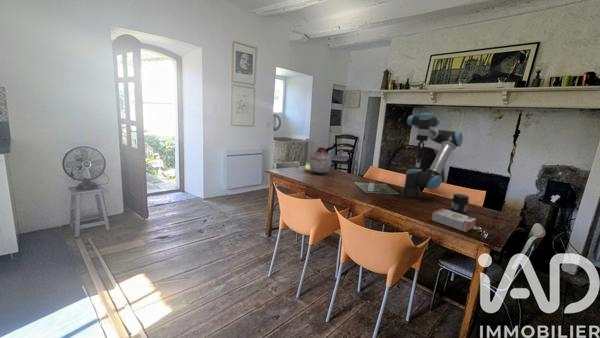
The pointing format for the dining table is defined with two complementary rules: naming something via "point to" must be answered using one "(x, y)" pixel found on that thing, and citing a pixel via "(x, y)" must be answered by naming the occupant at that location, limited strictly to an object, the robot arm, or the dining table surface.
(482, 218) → the dining table surface
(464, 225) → the cracker box
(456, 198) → the supplement container
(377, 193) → the dining table surface
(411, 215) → the dining table surface
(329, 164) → the vase
